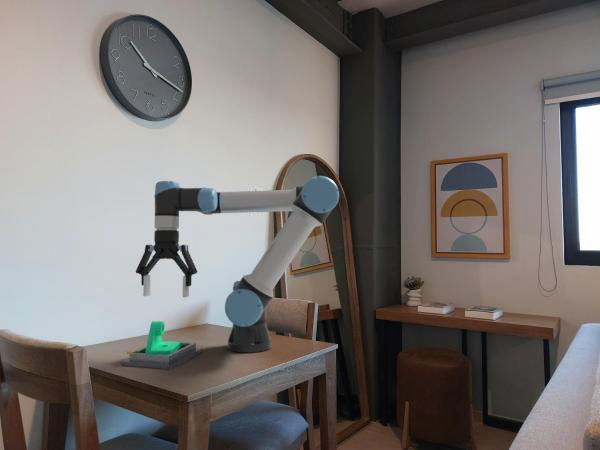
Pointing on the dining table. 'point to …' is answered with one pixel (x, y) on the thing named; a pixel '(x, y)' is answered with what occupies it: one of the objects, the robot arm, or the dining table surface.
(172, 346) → the camera mount
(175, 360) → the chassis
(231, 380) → the dining table surface
